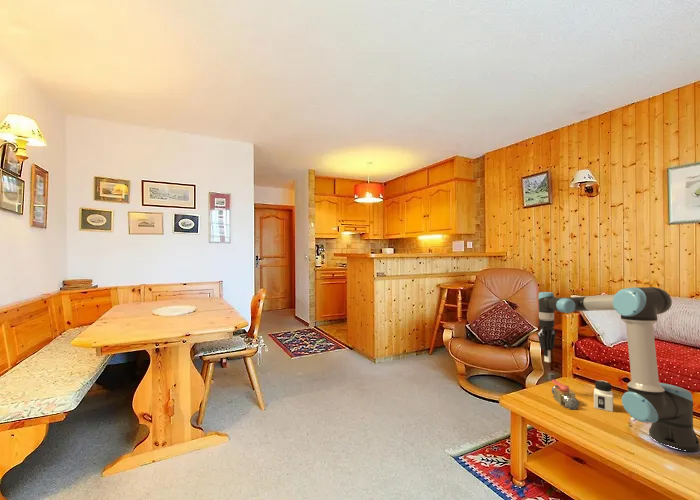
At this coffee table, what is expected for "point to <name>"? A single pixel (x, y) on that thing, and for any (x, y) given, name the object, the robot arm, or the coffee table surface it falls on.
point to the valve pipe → (565, 398)
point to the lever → (552, 379)
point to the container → (603, 396)
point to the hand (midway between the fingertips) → (547, 361)
